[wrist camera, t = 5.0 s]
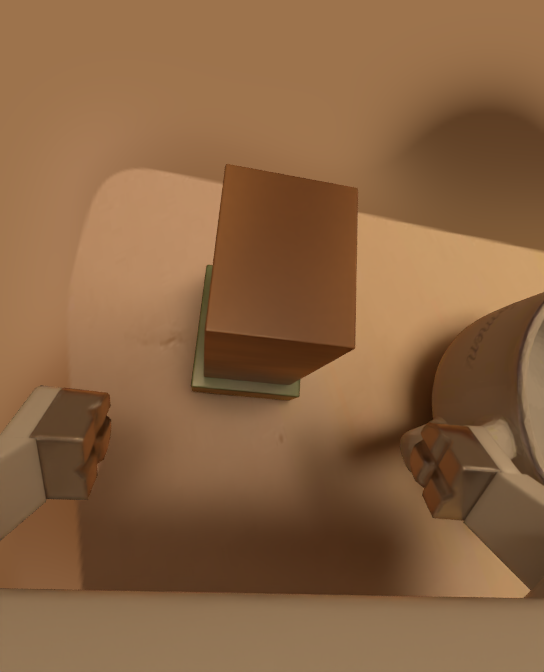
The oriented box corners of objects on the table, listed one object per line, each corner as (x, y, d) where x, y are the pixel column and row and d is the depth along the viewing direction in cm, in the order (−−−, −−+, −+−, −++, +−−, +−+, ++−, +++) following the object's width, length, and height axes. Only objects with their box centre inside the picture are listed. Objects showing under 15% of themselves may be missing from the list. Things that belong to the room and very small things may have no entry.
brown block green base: (191, 391, 19) (181, 348, 9) (206, 279, 20) (210, 144, 11) (290, 400, 20) (373, 369, 10) (296, 292, 21) (374, 176, 12)
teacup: (555, 327, 24) (723, 276, 16) (595, 516, 21) (820, 563, 13) (341, 321, 21) (420, 257, 14) (357, 534, 19) (464, 603, 11)
